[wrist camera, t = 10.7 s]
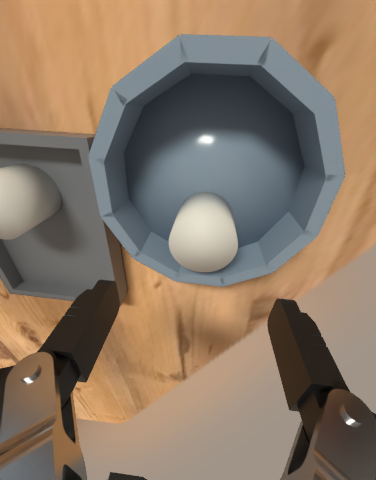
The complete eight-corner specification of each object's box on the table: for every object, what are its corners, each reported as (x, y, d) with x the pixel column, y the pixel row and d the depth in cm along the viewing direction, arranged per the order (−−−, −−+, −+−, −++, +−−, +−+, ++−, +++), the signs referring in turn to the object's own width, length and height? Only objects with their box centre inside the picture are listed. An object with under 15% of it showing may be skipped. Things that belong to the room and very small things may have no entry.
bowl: (129, 247, 22) (112, 274, 19) (104, 53, 14) (62, 30, 10) (277, 262, 21) (291, 294, 17) (348, 62, 13) (406, 41, 9)
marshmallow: (20, 213, 20) (-25, 236, 17) (-3, 161, 18) (-62, 174, 14) (67, 218, 20) (33, 242, 16) (51, 165, 17) (6, 179, 14)
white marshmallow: (177, 239, 20) (168, 268, 16) (178, 189, 17) (168, 211, 13) (228, 244, 20) (231, 275, 16) (237, 194, 17) (244, 217, 13)
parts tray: (25, 279, 27) (9, 293, 25) (-54, 124, 17) (-91, 126, 15) (127, 291, 26) (120, 306, 24) (102, 134, 17) (86, 137, 14)
